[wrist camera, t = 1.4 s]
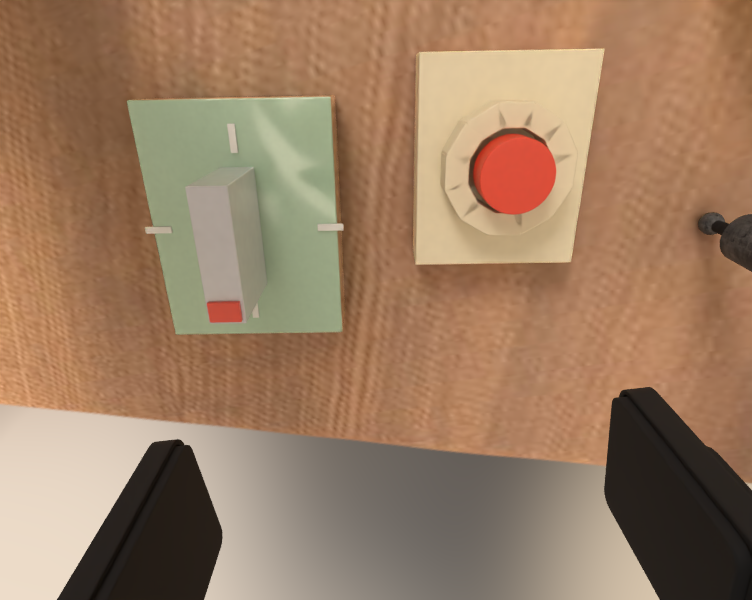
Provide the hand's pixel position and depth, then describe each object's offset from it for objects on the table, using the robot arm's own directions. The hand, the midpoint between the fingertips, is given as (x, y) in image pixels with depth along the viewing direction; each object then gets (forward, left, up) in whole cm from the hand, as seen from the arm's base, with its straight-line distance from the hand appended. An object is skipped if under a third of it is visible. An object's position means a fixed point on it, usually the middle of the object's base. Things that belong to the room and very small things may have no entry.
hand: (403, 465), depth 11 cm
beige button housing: (-1, +7, -20) cm, 21 cm away
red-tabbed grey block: (-3, -7, -17) cm, 19 cm away
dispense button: (-1, +7, -17) cm, 18 cm away
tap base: (-3, -7, -20) cm, 22 cm away
